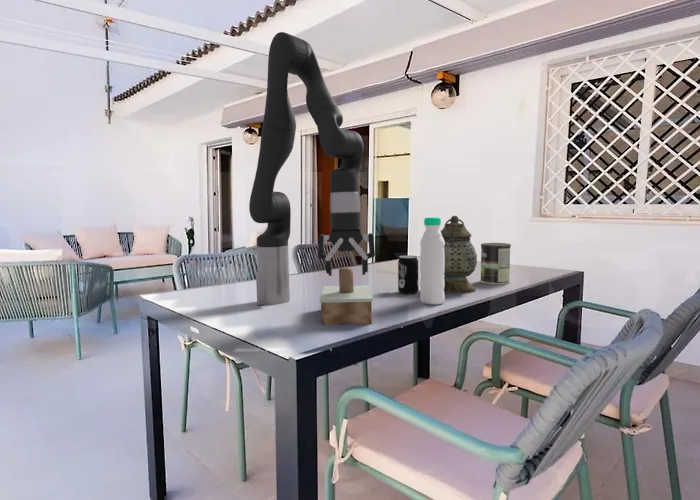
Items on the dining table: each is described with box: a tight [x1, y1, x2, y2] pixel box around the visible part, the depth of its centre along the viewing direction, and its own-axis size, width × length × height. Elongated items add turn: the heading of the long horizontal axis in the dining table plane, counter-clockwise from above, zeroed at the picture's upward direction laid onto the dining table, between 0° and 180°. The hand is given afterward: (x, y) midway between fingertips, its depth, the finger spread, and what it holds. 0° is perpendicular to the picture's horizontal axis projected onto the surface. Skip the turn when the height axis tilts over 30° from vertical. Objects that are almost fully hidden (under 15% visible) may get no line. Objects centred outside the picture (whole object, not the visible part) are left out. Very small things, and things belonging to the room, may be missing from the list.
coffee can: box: [480, 242, 512, 286], centre depth 155 cm, size 10×10×14 cm
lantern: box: [439, 215, 478, 295], centre depth 142 cm, size 14×14×25 cm
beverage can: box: [397, 254, 419, 295], centre depth 140 cm, size 7×7×12 cm
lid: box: [319, 267, 374, 304], centre depth 108 cm, size 13×17×8 cm
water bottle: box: [419, 216, 445, 306], centre depth 124 cm, size 7×7×25 cm
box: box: [320, 302, 373, 326], centre depth 109 cm, size 12×16×6 cm
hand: (347, 274), depth 108 cm, fingers open, 8 cm apart
